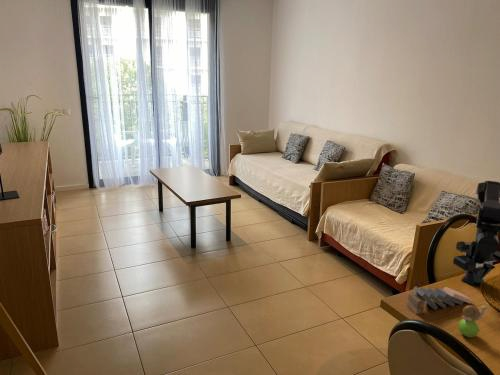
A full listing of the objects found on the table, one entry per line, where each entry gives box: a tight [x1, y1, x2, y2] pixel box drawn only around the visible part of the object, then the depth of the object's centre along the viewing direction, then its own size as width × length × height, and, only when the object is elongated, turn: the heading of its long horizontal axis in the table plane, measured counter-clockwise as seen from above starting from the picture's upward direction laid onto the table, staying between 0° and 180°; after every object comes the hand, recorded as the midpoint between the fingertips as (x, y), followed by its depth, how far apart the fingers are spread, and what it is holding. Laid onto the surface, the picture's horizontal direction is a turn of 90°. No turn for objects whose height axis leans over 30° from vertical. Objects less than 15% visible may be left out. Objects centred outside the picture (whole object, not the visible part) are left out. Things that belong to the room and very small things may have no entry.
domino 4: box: [434, 287, 464, 306], centre depth 131 cm, size 1×4×10 cm
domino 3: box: [426, 287, 456, 308], centre depth 130 cm, size 1×4×10 cm
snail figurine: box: [457, 301, 489, 338], centre depth 114 cm, size 5×6×12 cm
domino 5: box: [442, 286, 473, 304], centre depth 132 cm, size 1×4×10 cm
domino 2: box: [419, 286, 447, 309], centre depth 129 cm, size 1×4×10 cm
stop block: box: [406, 292, 426, 315], centre depth 127 cm, size 3×4×5 cm
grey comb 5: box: [412, 286, 439, 311], centre depth 128 cm, size 1×4×10 cm
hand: (476, 281), depth 132 cm, fingers closed
